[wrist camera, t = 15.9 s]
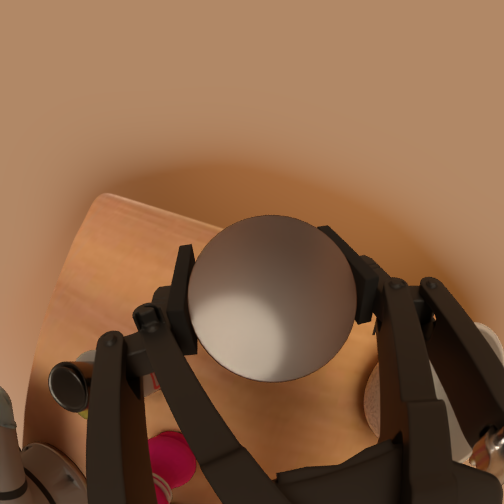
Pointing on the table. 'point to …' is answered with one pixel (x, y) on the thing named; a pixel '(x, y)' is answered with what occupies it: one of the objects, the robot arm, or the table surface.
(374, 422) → the planter
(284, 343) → the stopper
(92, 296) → the table surface
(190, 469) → the pepper mill
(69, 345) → the table surface
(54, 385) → the spray bottle
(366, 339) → the table surface
